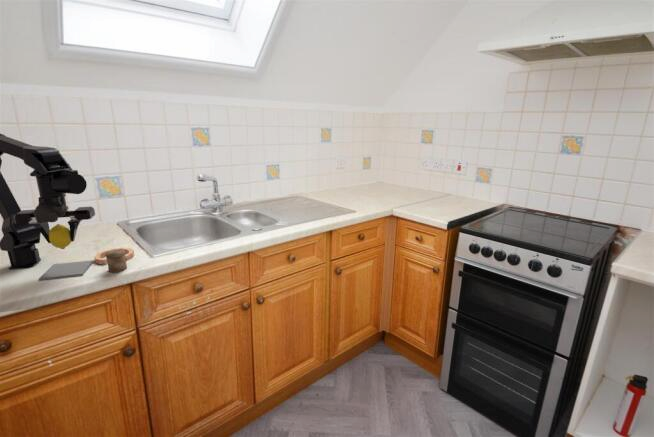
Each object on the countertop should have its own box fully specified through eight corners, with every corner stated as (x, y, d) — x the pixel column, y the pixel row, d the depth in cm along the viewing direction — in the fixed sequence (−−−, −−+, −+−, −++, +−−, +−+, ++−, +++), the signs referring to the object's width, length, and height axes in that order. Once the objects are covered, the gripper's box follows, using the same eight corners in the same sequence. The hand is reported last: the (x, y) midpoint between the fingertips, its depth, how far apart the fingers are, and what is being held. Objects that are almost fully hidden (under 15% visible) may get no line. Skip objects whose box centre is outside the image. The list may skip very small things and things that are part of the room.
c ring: (91, 265, 113) (90, 261, 113) (100, 253, 124) (99, 249, 123) (130, 261, 117) (130, 257, 117) (136, 250, 127) (135, 246, 127)
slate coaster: (39, 280, 103) (38, 278, 103) (53, 265, 113) (53, 264, 113) (82, 275, 107) (82, 273, 106) (93, 261, 117) (92, 260, 116)
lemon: (78, 246, 111) (73, 221, 108) (66, 252, 105) (60, 227, 103) (60, 246, 110) (55, 221, 108) (47, 252, 105) (41, 226, 103)
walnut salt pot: (106, 273, 108) (103, 256, 106) (110, 267, 113) (107, 250, 111) (125, 271, 110) (123, 254, 108) (129, 265, 115) (126, 248, 113)
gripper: (-3, 199, 93) (11, 254, 97) (80, 195, 99) (89, 248, 103) (17, 191, 103) (29, 241, 107) (91, 188, 109) (99, 236, 113)
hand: (61, 242), depth 107 cm, fingers closed on lemon, 5 cm apart
